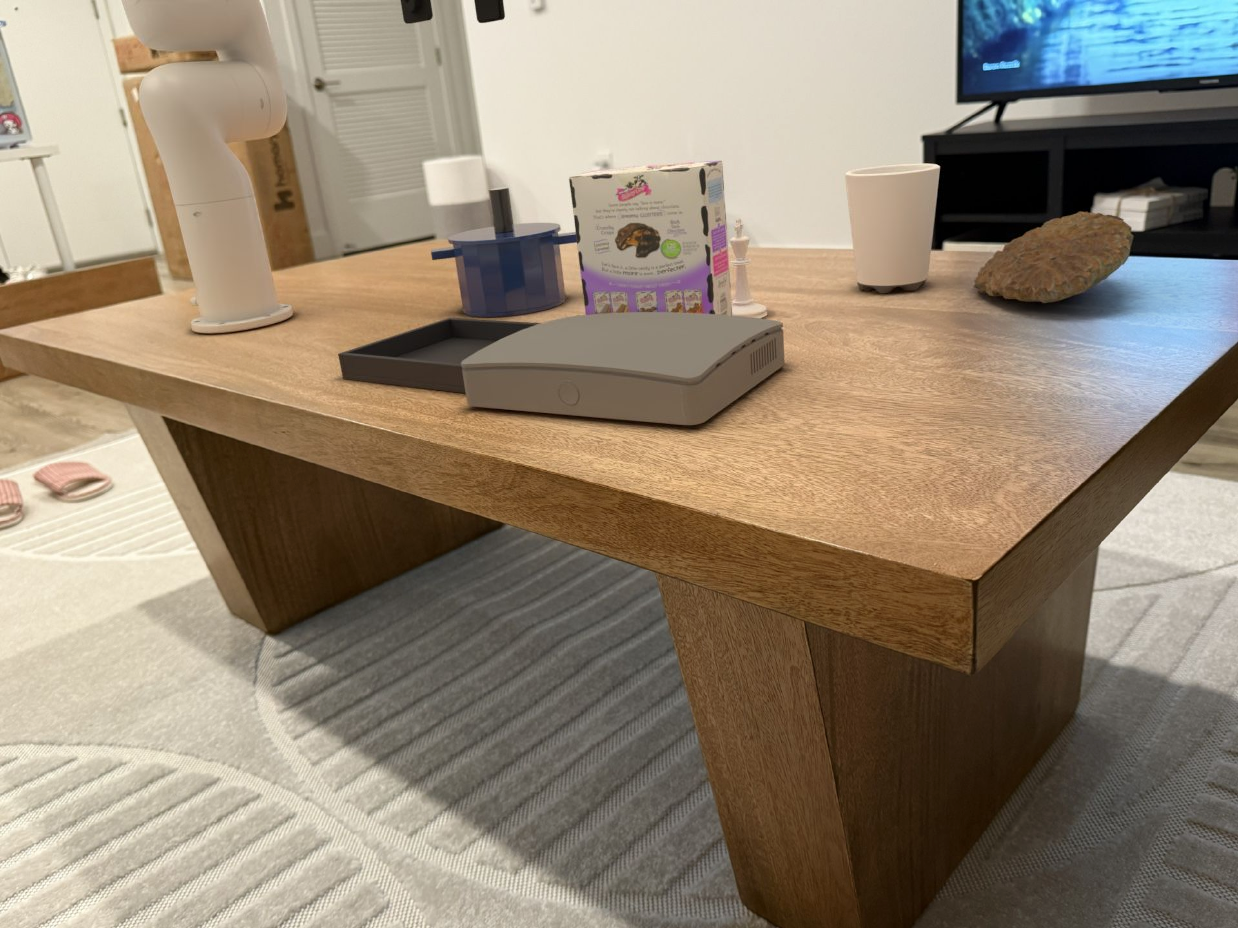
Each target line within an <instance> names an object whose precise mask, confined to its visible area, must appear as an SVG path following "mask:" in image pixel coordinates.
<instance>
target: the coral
mask: <svg viewBox="0 0 1238 928" xmlns="http://www.w3.org/2000/svg"><path fill="white" fill-rule="evenodd" d="M1133 240H1134V235H1133V234H1132V226H1131V225H1129V224H1128V223H1127V222H1125V221H1124V218H1122V217H1120V216H1118V215H1112V214H1103V213H1100V212H1096V213H1095V212H1088V211H1077V213H1073V214H1071V215H1066V216H1062V217H1061V218H1059V217H1056V218H1052V219H1050V220H1048V221H1046V222H1043V225H1041V227H1039V226H1037V227H1036V228H1033V229H1030V230H1028V231H1025V233H1024V234H1022V236H1019V237H1017V238H1014V239H1012V240H1011V241H1010V242H1008V243H1006V244H1004V247H1003V248H1002V250H996V251H995V252H994V254H993V255H992V258H990V259H988V260H987V261H986V263H985V264H984V266H982V267H980V269H979V270H978V272H977V276H976V277H975V279H974V280H973V282H974V285H973V288H974V289H976V290H978V293H981V294H987V295H988V296H990V297H1003V298H1004V299H1005V300H1018V301H1020V302H1029V303H1030V302H1035V303H1040V302H1041V303H1042V304H1048V303H1055V302H1059V301H1062V300H1065V299H1068V298H1071V297H1074V296H1077V295H1079V294H1084V293H1085V292H1086V291H1089V290H1091V289H1092V288H1094V287H1095V286H1096V285H1098V284H1100V283H1101V282H1102V281H1104V280H1105V281H1106V280H1107V279H1108V278H1109V277H1110V276H1111V275H1112V274H1113V273H1114V272H1116V271H1117V270H1119V269H1120V267H1121V266H1124V265H1125V263H1126V262H1127V261H1128V259H1129V257H1130V253H1131V247H1132V244H1133Z"/></svg>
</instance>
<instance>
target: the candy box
mask: <svg viewBox="0 0 1238 928" xmlns="http://www.w3.org/2000/svg"><path fill="white" fill-rule="evenodd" d="M723 168H724V167H723V160H706V161H705V160H704V161H692V162H675V163H662V164H660V163H659V164H647V165H636V166H626V167H616V168H615V167H614V168H606V169H599V170H598V169H595V170H590V171H587V172H582V173H579V174H575V175H570V176H569V177H568V182H569V189H570V198H571V204H572V214H573V220H574V221H573V222H574V232H576V239H577V243H576V249H577V255H578V263H579V273H580V280H581V286H582V287H581V288H582V296H583V304H584V313H585V314H584V315H590V314H602V313H625V312H680V313H702V314H719V315H730V316H732V306H731V305H732V292H731V291H732V289H731V276H730V274H731V273H730V257H729V243H728V230H727V229H728V228H727V213H726V201H725V200H726V199H725V183H724V169H723Z"/></svg>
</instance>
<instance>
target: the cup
mask: <svg viewBox="0 0 1238 928" xmlns="http://www.w3.org/2000/svg"><path fill="white" fill-rule="evenodd" d="M940 171H941V166H940V165H938V164H936V163H902V164H901V163H899V164H888V165H877V166H869V167H868V166H867V167H862V168H861V167H860V168H856V169H852V170H848V171H846V172H845V173H844V178H845V179H844V180H845V187H846V195H847V196H846V197H847V205H848V215H849V223H850V233H851V242H852V249H853V259H854V268H855V277H856V284H857V287H858V288H859V290H861V291H867V292H868V291H872V290H875V291H876V292H877V293H879V294H890V293H891V292H892V291H893V290H894V289H895V288H898V287H899V288H900V289H902V290H904V291H907V292H914V291H917V290H918V289H919V288H920V287H921V286H924V285H925V284H926V282H927V280H928V279H929V273H930V265H931V254H932V246H933V245H932V244H933V236H934V227H935V218H936V209H937V199H938V189H939V180H940Z"/></svg>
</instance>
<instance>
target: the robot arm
mask: <svg viewBox="0 0 1238 928" xmlns="http://www.w3.org/2000/svg"><path fill="white" fill-rule="evenodd" d="M121 4H122V6H123V10H124V12H125V13H124V14H125V15H126V19H127V21H128V24H129V26H130V30H131V31H132V32H133V35H134V36H135V37H136V39H137V40H138V42H139V43H140V44H141V45H143V46H144V47H145V48H147V49H151V50H153V51H154V50H155V51H159V52H173V53H174V52H179V53H180V52H182V53H183V52H215V53H216V55H217V58H218V59H219V60H201V61H197V60H196V61H178V62H169V63H165V64H161V65H158V66H156V67H154V68H152V69H151V70H150V71H148V72H147V73H145V76H144V77H143V78H142V80H141V82H140V85H139V88H138V89H139V90H138V101H139V107H140V110H141V113H142V117H143V119H144V121H145V124H146V126H147V128H148V130H149V133H150V135H151V137H152V139H153V142H154V144H155V146H156V149H157V151H158V154H159V156H160V159H161V162H162V165H163V168H164V172H165V175H166V178H167V182H168V186H169V190H170V193H171V197H172V201H173V202H172V203H173V205H174V209H175V212H176V216H177V221H178V224H179V228H180V232H181V236H182V241H183V244H184V248H185V252H186V256H187V260H188V265H189V268H190V269H189V270H190V272H191V276H192V281H193V285H194V289H195V291H194V294H195V295H193V296H191V297H190V299H189V303H190V305H191V306H192V307H198V310H199V314H200V316H198V317H196V318H194V319H191V321H190V326H191V330H192V332H195V333H198V334H221V333H223V334H225V333H232V332H239V331H246V330H252V329H257V328H261V327H266V326H270V325H274V324H276V323H281V322H283V321H286V320H288V319H289V318H292V316H293V315H294V311H293V306H292V305H290V304H287V303H279V299H278V295H277V290H276V286H275V282H274V277H273V272H272V268H271V262H270V259H269V253H268V250H267V245H266V241H265V236H264V231H263V226H262V222H261V218H260V214H259V213H260V212H259V208H258V203H257V200H256V195H255V191H254V185H253V183H252V180H251V177H250V175H249V173H248V171H247V169H246V167H245V166H244V164H243V163H242V162H241V160H240V159H239V158H238V157H237V155H235V153H234V152H233V151H232V149H231V148H230V147H229V146H228V144H231V143H238V142H246V141H247V142H248V141H257V140H264V139H268V138H271V137H273V136H275V135H277V134H278V133H280V131H282V130H283V128H284V126H285V123H286V121H287V117H288V101H287V95H286V93H287V92H286V89H285V84H284V81H283V78H282V75H281V74H282V73H281V70H280V66H279V63H278V59H277V55H276V52H275V47H274V45H273V41H272V37H271V33H270V29H269V26H268V22H267V19H266V16H265V15H266V14H265V11H264V8H263V5H262V3H261V0H121ZM504 5H505V4H504V0H474V9H475V16H476V21H477V22H478V23H479V24H487V23H492V22H497V21H503V20H505V17H506V12H505V6H504ZM400 6H401V12H402V18H403V21H404V24H409V25H410V24H416V23H423V22H427V21H431V20H432V19H433V17H434V14H433V7H432V0H400Z"/></svg>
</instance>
